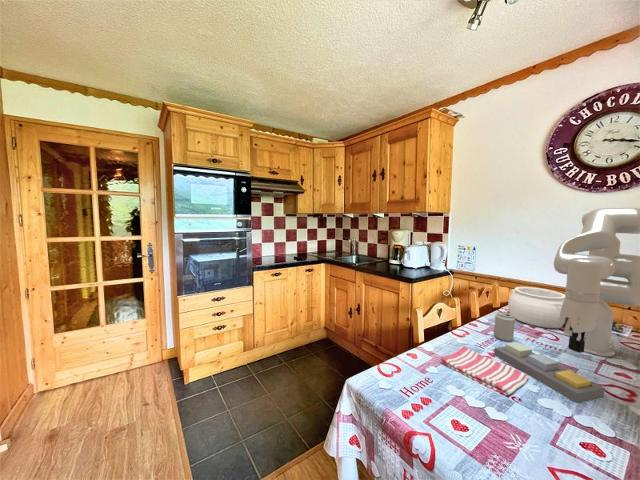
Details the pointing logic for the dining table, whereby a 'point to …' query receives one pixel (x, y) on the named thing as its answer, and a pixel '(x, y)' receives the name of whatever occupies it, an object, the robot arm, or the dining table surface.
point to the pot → (536, 306)
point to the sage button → (518, 349)
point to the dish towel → (485, 370)
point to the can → (504, 326)
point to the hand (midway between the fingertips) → (575, 350)
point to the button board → (551, 378)
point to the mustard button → (573, 379)
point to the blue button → (543, 362)
